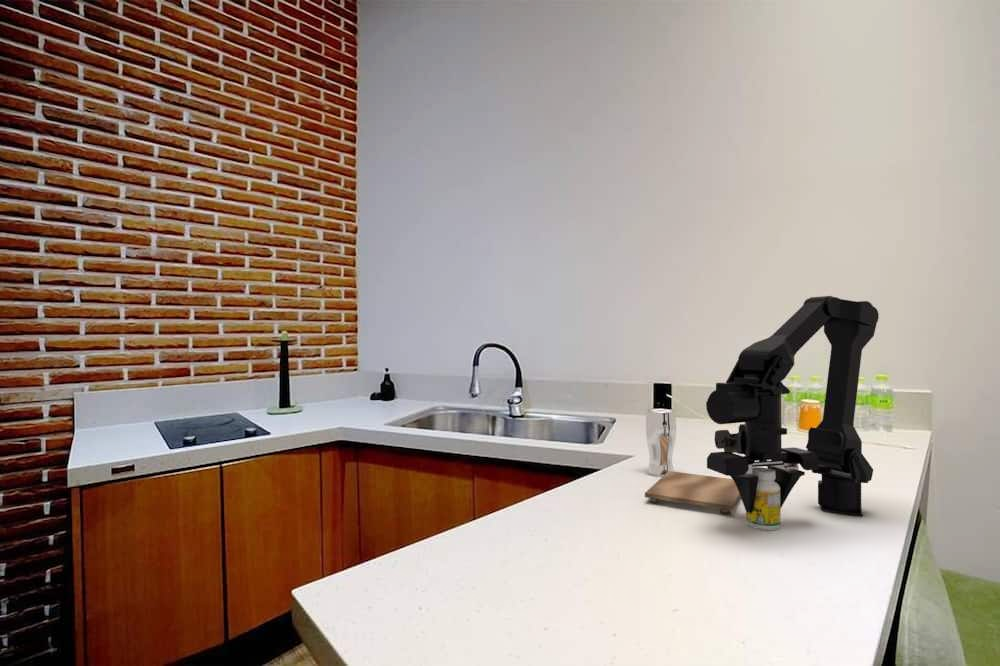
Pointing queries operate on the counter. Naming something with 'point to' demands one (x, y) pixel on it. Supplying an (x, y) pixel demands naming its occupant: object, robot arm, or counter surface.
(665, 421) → the beer glass
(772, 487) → the supplement bottle
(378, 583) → the counter surface
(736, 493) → the peg shelf
